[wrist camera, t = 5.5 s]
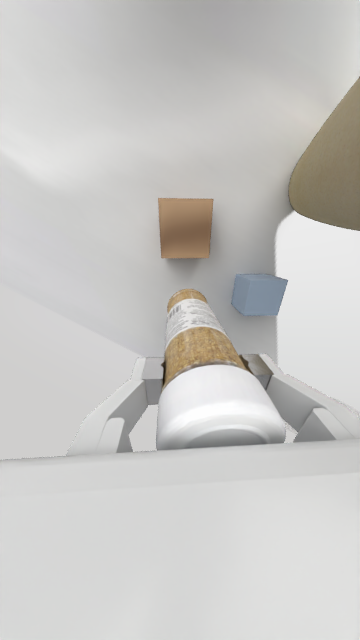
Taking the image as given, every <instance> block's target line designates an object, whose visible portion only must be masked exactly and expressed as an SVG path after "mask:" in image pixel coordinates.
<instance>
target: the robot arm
mask: <svg viewBox="0 0 360 640" xmlns="http://www.w3.org/2000/svg"><path fill="white" fill-rule="evenodd" d="M239 357H240V359H241V361H242V362H243V364H244V366H245V368H246V369H247V370H248V371H249V372H250V373H252V375H254V376H255V377H256V378H257V379H258V380H259V382H260V383H261V385H262V386H263V388H264V390H265V391H266V393H267V394H268V396H269V398H270V399H271V401H272V403H273V404H274V406H275V408H276V409H277V411H278V412H279V414H280V416H281V417H282V418H283V419H284V420H285V421H286V422H287V423H288V424H289V425H291V426H292V427H293V428H294V429H295V430H296V431H297V432H298V434H297V436H296V437H295V439H294V441H293V443H278V444H261V445H244V446H227V447H210V448H193V449H176V450H159V451H143V452H133V450H132V447H131V443H130V439H129V433H130V432H131V430H132V429H133V427H134V426H135V424H136V423H137V421H138V420H139V419H140V417H141V416H142V414H143V413H144V411H145V410H146V408H147V407H148V405H155V404H159V399H160V395H161V393H162V388H163V386H164V373H165V358H164V357H138V358H137V359H136V362H135V366H134V369H133V372H132V375H131V379H130V380H128V381H126V382H125V383H124V384H123V385H121V386H120V387H119V388H118V389H117V390H116V391H115V392H114V393H113V394H112V395H110V396H109V397H108V398H107V399H106V400H105V401H103V402H102V403H101V404H100V405H99V406H98V407H97V408H96V409H94V410H93V411H92V412H91V413H90V414H89V415H88V416H87V417H86V418H85V419H84V420H83V422H82V425H81V426H80V428H79V430H78V432H77V434H76V436H75V439H74V440H73V442H72V444H71V446H70V448H69V450H68V452H67V454H66V456H57V457H39V458H22V459H5V460H0V640H360V418H359V417H358V416H356V415H355V414H354V413H353V412H352V411H351V410H350V409H349V408H348V407H347V406H345V405H344V404H342V403H340V402H338V401H336V400H334V399H332V398H331V397H328V396H327V395H325V394H323V393H321V392H319V391H318V390H316V389H314V388H312V387H310V386H308V385H307V384H304V383H303V382H301V381H299V380H297V379H295V378H294V377H292V376H290V375H288V374H284V373H283V372H282V371H281V369H280V368H279V367H278V366H277V365H276V364H275V362H274V361H273V360H272V359H271V358H270V357H269V356H268V355H267V354H266V353H262V354H243V355H239Z"/></svg>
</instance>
